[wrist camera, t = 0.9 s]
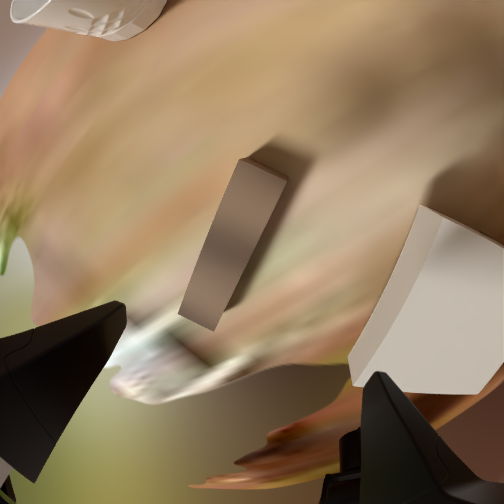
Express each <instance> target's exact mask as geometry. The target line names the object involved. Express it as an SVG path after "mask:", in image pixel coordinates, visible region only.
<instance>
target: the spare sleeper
mask: <svg viewBox="0 0 504 504" xmlns="http://www.w3.org/2000/svg"><path fill="white" fill-rule="evenodd" d="M287 181H288V176H286V175H284V174H282V173H280V172H278V171H276V170H274V169H271V168H269V167H267V166H265V165H263V164H261V163H258V162H256V161H254V160H252V159H249V158H242V159H239V161H238V163H237V166H236V168H235V170H234V172H233V175H232V177H231V179H230V182H229V184H228V186H227V189H226V191H225V193H224V196H223V198H222V201H221V203H220V205H219V208H218V210H217V213H216V215H215V218H214V220H213V222H212V225H211V227H210V230H209V232H208V235H207V237H206V240H205V243H204V245H203V248H202V250H201V253H200V255H199V258H198V261H197V263H196V266H195V268H194V271H193V274H192V276H191V279H190V282H189V284H188V287H187V290H186V293H185V295H184V298H183V301H182V304H181V306H180V309H179V312H178V314H179V315H181V316H183V317H185V318H187V319H189V320H191V321H193V322H195V323H197V324H199V325H201V326H203V327H205V328H208V329H210V330H212V331H214V330H215V328H216V326H217V324H218V322H219V320H220V318H221V316H222V314H223V312H224V310H225V308H226V306H227V304H228V302H229V300H230V298H231V296H232V293H233V291H234V289H235V287H236V285H237V283H238V281H239V279H240V277H241V275H242V273H243V271H244V269H245V267H246V265H247V263H248V261H249V259H250V257H251V255H252V253H253V251H254V249H255V246H256V244H257V242H258V240H259V238H260V236H261V234H262V232H263V230H264V228H265V226H266V224H267V222H268V220H269V218H270V216H271V214H272V212H273V210H274V208H275V206H276V204H277V202H278V199H279V197H280V195H281V193H282V191H283V189H284V187H285V185H286V183H287Z"/></svg>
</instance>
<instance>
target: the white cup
mask: <svg viewBox="0 0 504 504" xmlns="http://www.w3.org/2000/svg"><path fill="white" fill-rule="evenodd" d="M166 3H167V0H12V4H11V9H10V16H11V19H12V21H13V22H15V23H20V24H29V25H36V26H42V27H47V28H53V29H58V30H62V31H69V32H74V33H78V34H83V35H87V36H88V35H92V36H96V37H100V38H104V39H107V40H110V41H113V42H115V41H120V40H126V39H130V38H132V37H133V36H135V35H137V34H139V33H140V32H142V31H144V30H145V29H146V28H147V27H148V26H149V25H151V24H152V23H153V22H154V21H155V20H156V19H157V18H158V17H159V15H160V13H161V11H162V10H163V8H164V6H165V4H166Z"/></svg>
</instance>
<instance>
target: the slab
mask: <svg viewBox="0 0 504 504" xmlns="http://www.w3.org/2000/svg"><path fill="white" fill-rule="evenodd" d="M348 361H349V367H350V372H351V378H352V384H353V386H358V387H364V386H365V384H366V383H367V381H368V380H369V379H370V377H371V376H372V374H373V373H374V372H375V371H381V372H386V373H387V374H388V375H389V376H390V378H391V379H392V380H393V381H394V382H395V383H396V385H397V386H398V387H399V388H400V389H401V390H402V392H413V393H430V394H478V393H479V392H480V391H481V390H482V389H483V388H484V386H485V385H486V384H487V383H488V382H489V380H490V379H491V378H492V377H493V375H494V374H495V373H496V371H497V370H498V369H499V368H500V366H501V365H502V363H503V362H504V246H503V245H501V244H499V243H498V242H496V241H494V240H492V239H490V238H489V237H487V236H485V235H483V234H481V233H479V232H477V231H476V230H474V229H472V228H470V227H468V226H466V225H464V224H462V223H460V222H458V221H456V220H454V219H452V218H450V217H448V216H446V215H443V214H441V213H439V212H437V211H435V210H433V209H430V208H428V207H426V206H424V205H421V204H420V205H419V208H418V211H417V214H416V217H415V219H414V222H413V225H412V227H411V230H410V232H409V235H408V237H407V240H406V242H405V245H404V247H403V250H402V252H401V254H400V257H399V259H398V261H397V264H396V266H395V268H394V270H393V272H392V275H391V277H390V279H389V281H388V283H387V285H386V287H385V289H384V291H383V293H382V295H381V297H380V299H379V301H378V303H377V305H376V307H375V309H374V311H373V313H372V315H371V317H370V319H369V321H368V322H367V324H366V326H365V328H364V330H363V331H362V333H361V335H360V337H359V338H358V340H357V342H356V344H355V345H354V347H353V349H352V350H351V352H350V354H349V355H348Z"/></svg>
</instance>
